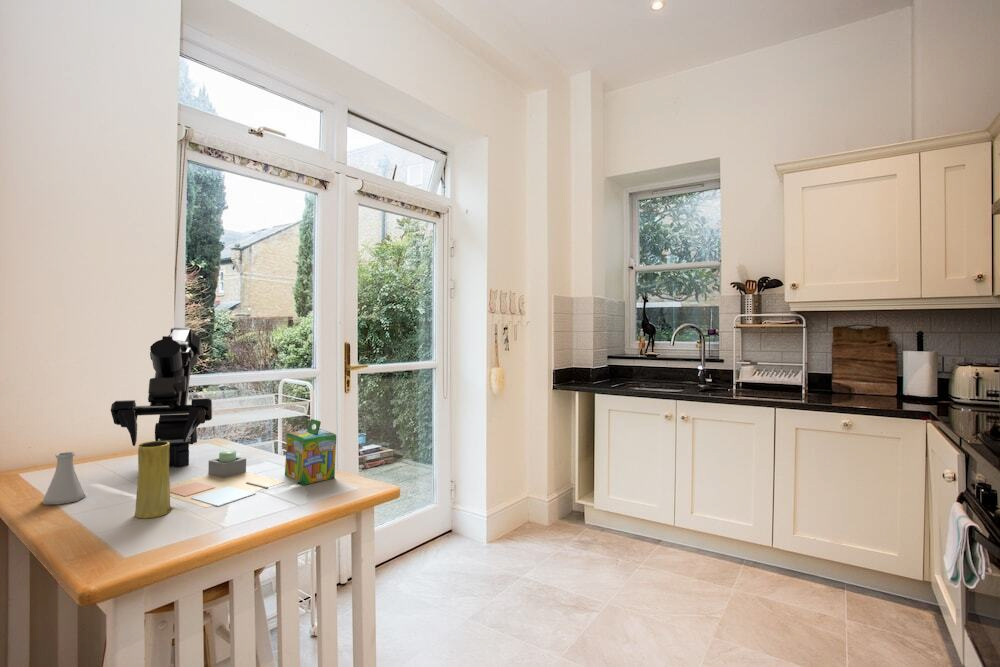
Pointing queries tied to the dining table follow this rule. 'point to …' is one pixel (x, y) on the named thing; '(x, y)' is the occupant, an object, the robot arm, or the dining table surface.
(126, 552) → the dining table surface
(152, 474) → the vase
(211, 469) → the button housing
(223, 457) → the button
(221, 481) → the picture board
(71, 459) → the flask
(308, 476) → the chalk box
